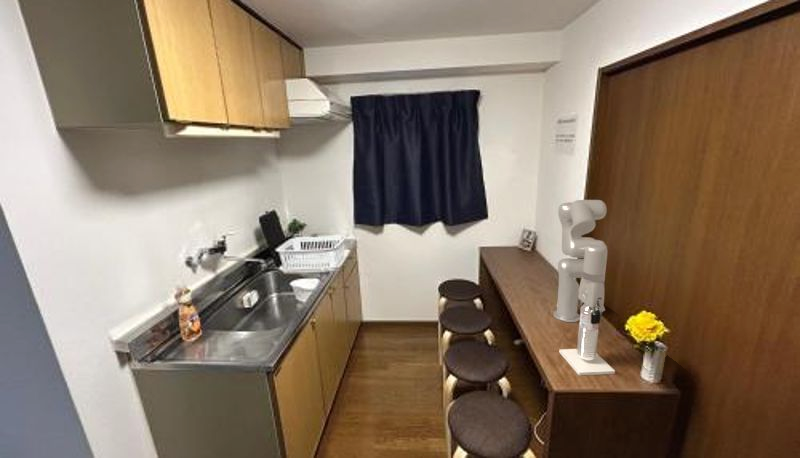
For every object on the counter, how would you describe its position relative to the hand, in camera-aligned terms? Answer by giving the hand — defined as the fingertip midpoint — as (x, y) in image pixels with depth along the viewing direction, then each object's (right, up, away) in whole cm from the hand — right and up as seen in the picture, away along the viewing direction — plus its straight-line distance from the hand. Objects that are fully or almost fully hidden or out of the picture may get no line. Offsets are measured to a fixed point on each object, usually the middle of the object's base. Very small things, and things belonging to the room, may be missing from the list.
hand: (589, 318), depth 135 cm
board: (+1, -19, +4) cm, 20 cm away
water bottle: (+1, -17, +4) cm, 17 cm away
